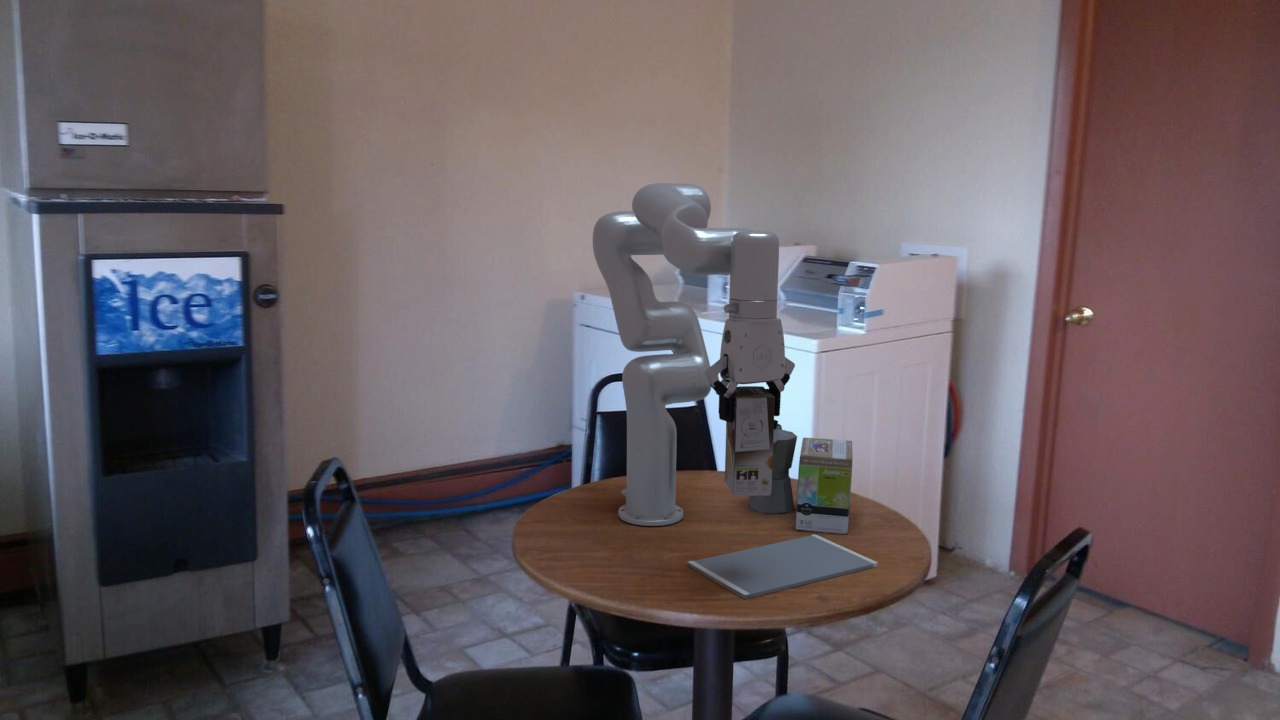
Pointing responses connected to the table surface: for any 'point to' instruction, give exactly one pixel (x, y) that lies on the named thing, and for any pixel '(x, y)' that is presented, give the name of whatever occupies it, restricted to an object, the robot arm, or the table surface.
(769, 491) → the coffee box
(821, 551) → the mat
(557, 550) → the table surface
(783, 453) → the coffeepot
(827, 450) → the tea box
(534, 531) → the table surface
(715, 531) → the table surface
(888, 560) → the table surface
